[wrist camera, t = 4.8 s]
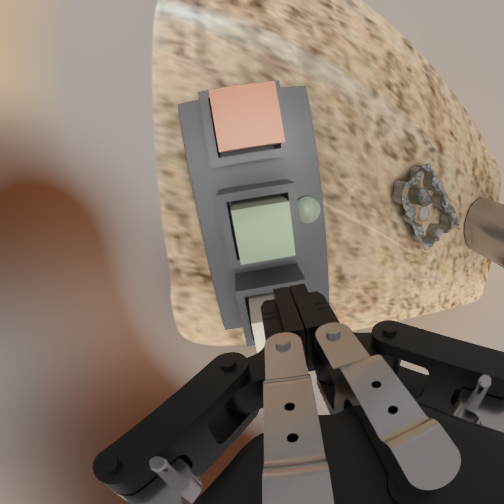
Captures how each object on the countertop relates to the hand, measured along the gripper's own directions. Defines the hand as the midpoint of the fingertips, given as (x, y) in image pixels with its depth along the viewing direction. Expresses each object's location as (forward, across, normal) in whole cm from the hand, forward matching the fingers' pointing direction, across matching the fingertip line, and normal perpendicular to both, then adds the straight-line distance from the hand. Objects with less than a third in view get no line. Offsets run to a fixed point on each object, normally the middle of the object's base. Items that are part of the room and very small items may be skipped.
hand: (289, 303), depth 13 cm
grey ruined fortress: (+21, -22, +2) cm, 31 cm away
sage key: (+18, 0, 0) cm, 18 cm away
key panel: (+20, 0, 0) cm, 20 cm away
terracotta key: (+16, 0, -10) cm, 19 cm away
